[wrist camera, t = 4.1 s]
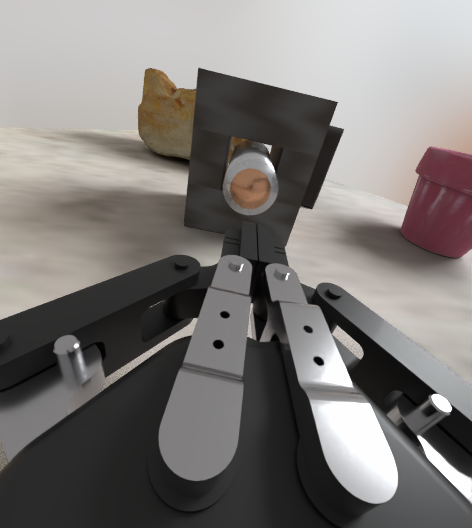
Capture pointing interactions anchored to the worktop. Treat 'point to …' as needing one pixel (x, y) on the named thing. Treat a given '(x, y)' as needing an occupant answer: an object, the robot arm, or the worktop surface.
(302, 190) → the housing
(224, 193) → the peg
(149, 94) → the rough brown rock
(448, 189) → the plant pot
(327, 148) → the phone stand
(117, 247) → the worktop surface
